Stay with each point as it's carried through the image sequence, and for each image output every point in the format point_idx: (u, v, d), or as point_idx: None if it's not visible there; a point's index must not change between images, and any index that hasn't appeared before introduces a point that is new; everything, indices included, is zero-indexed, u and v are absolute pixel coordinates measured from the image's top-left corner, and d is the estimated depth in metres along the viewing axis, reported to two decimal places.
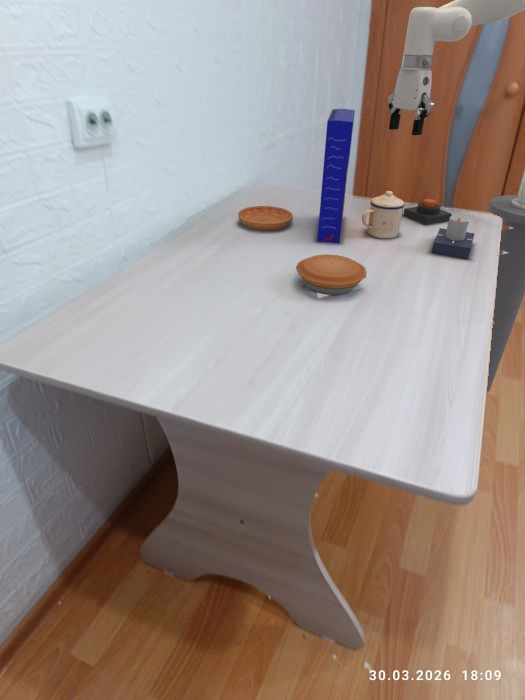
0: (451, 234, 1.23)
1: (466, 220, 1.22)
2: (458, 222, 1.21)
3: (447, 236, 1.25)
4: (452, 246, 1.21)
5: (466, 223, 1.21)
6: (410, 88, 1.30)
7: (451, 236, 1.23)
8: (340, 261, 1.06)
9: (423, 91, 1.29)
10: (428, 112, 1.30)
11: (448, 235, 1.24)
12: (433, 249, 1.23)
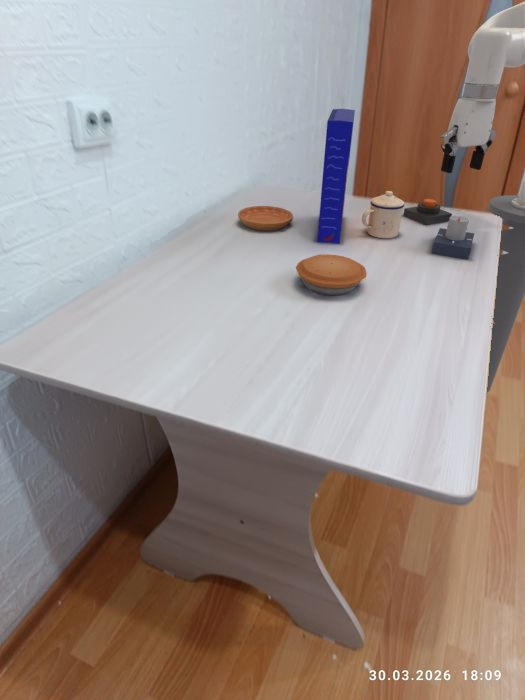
0: (451, 234, 1.23)
1: (466, 220, 1.22)
2: (458, 222, 1.21)
3: (447, 236, 1.25)
4: (452, 246, 1.21)
5: (466, 223, 1.21)
6: (486, 121, 1.12)
7: (451, 236, 1.23)
8: (340, 261, 1.06)
9: None
10: None
11: (448, 235, 1.24)
12: (433, 249, 1.23)
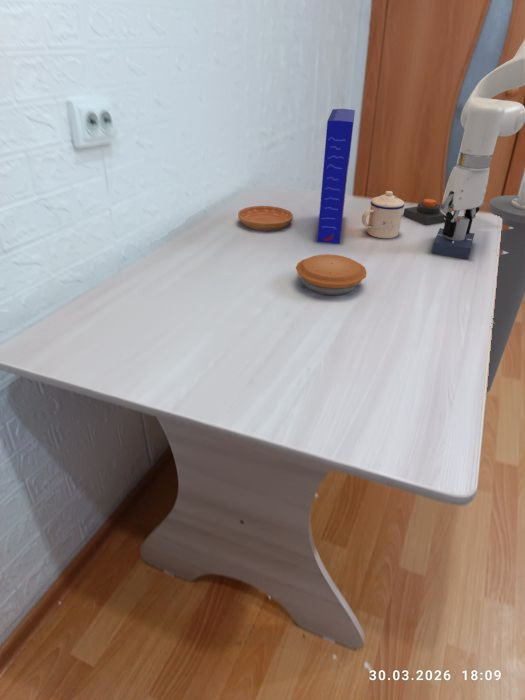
0: None
1: (466, 220, 1.22)
2: (458, 222, 1.21)
3: (447, 236, 1.25)
4: (452, 246, 1.21)
5: (466, 223, 1.21)
6: (481, 187, 1.17)
7: None
8: (340, 261, 1.06)
9: None
10: None
11: None
12: (433, 249, 1.23)
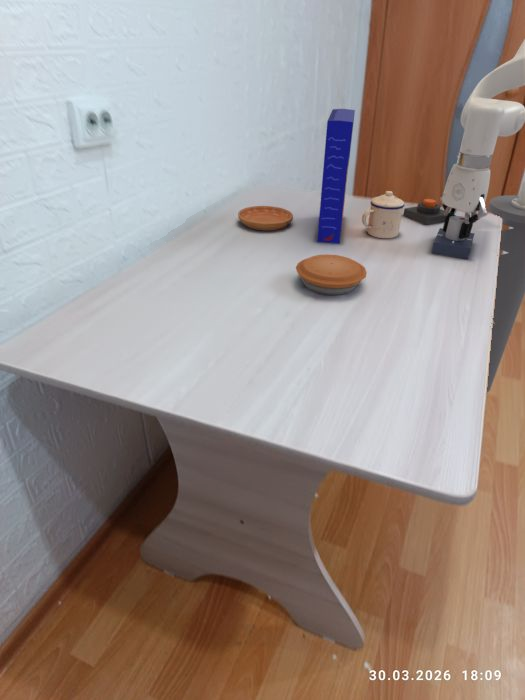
0: None
1: (462, 217, 1.24)
2: None
3: None
4: (452, 246, 1.21)
5: None
6: None
7: None
8: (340, 261, 1.06)
9: None
10: None
11: None
12: (433, 249, 1.23)
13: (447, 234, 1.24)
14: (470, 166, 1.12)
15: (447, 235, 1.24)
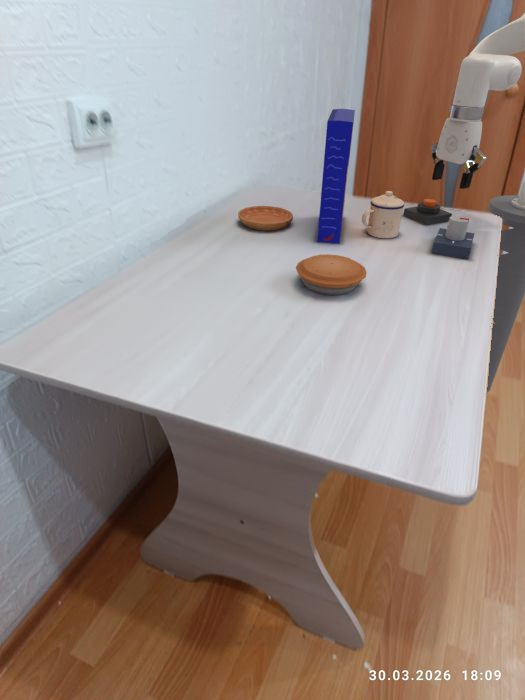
0: (464, 234, 1.23)
1: (462, 217, 1.24)
2: None
3: (461, 238, 1.23)
4: (452, 246, 1.21)
5: None
6: None
7: (464, 236, 1.24)
8: (340, 261, 1.06)
9: None
10: None
11: (461, 237, 1.23)
12: (433, 249, 1.23)
13: (447, 234, 1.24)
14: (463, 117, 1.17)
15: (447, 235, 1.24)
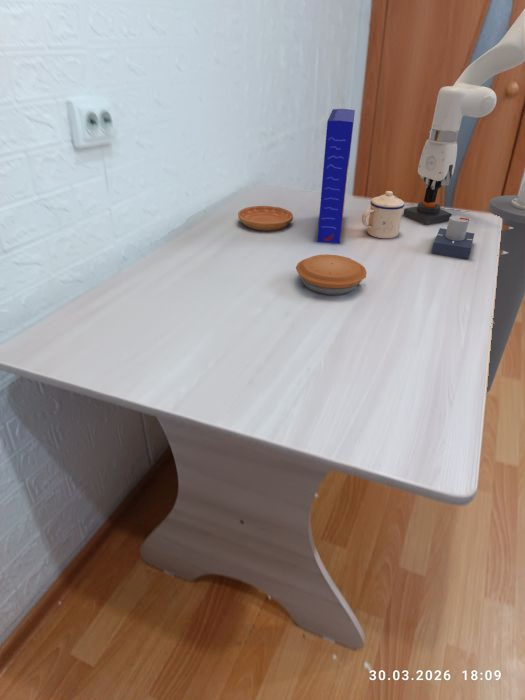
0: (464, 234, 1.23)
1: (462, 217, 1.24)
2: None
3: (461, 238, 1.23)
4: (452, 246, 1.21)
5: None
6: None
7: (464, 236, 1.24)
8: (340, 261, 1.06)
9: None
10: None
11: (461, 237, 1.23)
12: (433, 249, 1.23)
13: (447, 234, 1.24)
14: (440, 140, 1.33)
15: (447, 235, 1.24)
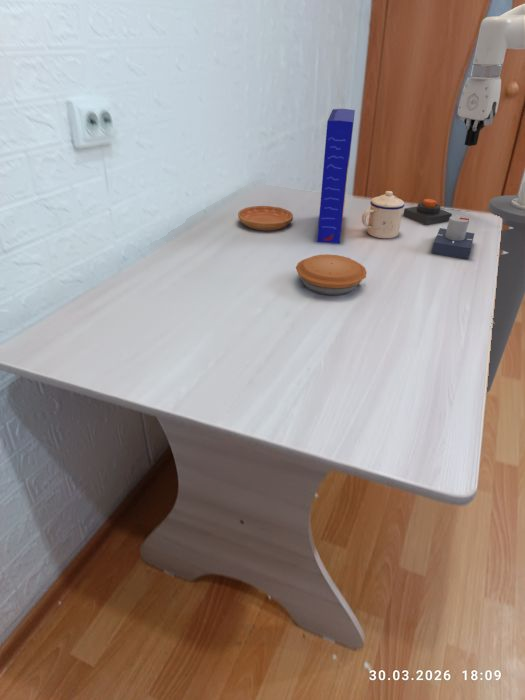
0: (464, 234, 1.23)
1: (462, 217, 1.24)
2: None
3: (461, 238, 1.23)
4: (452, 246, 1.21)
5: None
6: None
7: (464, 236, 1.24)
8: (340, 261, 1.06)
9: None
10: None
11: (461, 237, 1.23)
12: (433, 249, 1.23)
13: (447, 234, 1.24)
14: (483, 75, 1.26)
15: (447, 235, 1.24)
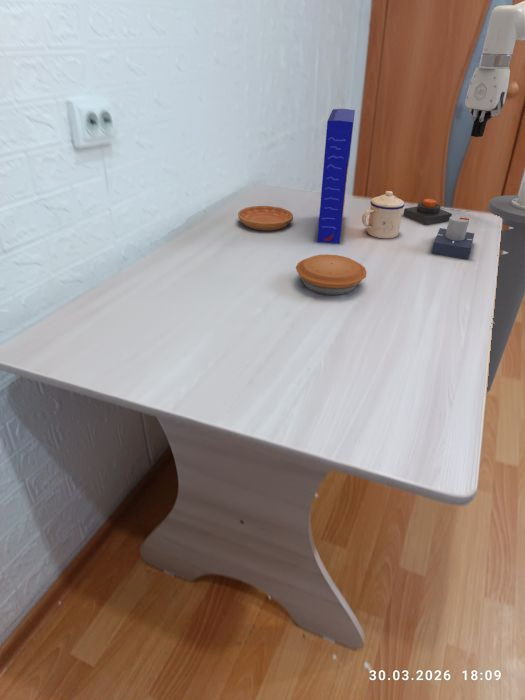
0: (464, 234, 1.23)
1: (462, 217, 1.24)
2: None
3: (461, 238, 1.23)
4: (452, 246, 1.21)
5: None
6: None
7: (464, 236, 1.24)
8: (340, 261, 1.06)
9: None
10: None
11: (461, 237, 1.23)
12: (433, 249, 1.23)
13: (447, 234, 1.24)
14: (492, 65, 1.26)
15: (447, 235, 1.24)
